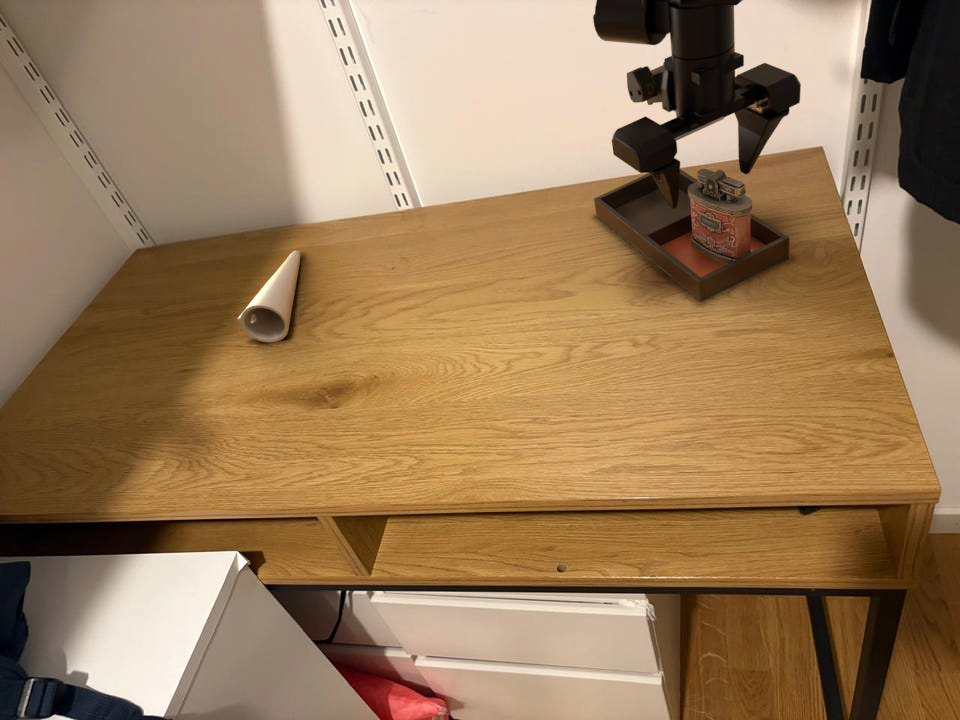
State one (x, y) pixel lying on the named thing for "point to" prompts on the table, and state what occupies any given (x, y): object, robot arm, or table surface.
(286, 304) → the long tapered cone
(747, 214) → the lighter
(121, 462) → the table surface
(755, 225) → the divided tray
